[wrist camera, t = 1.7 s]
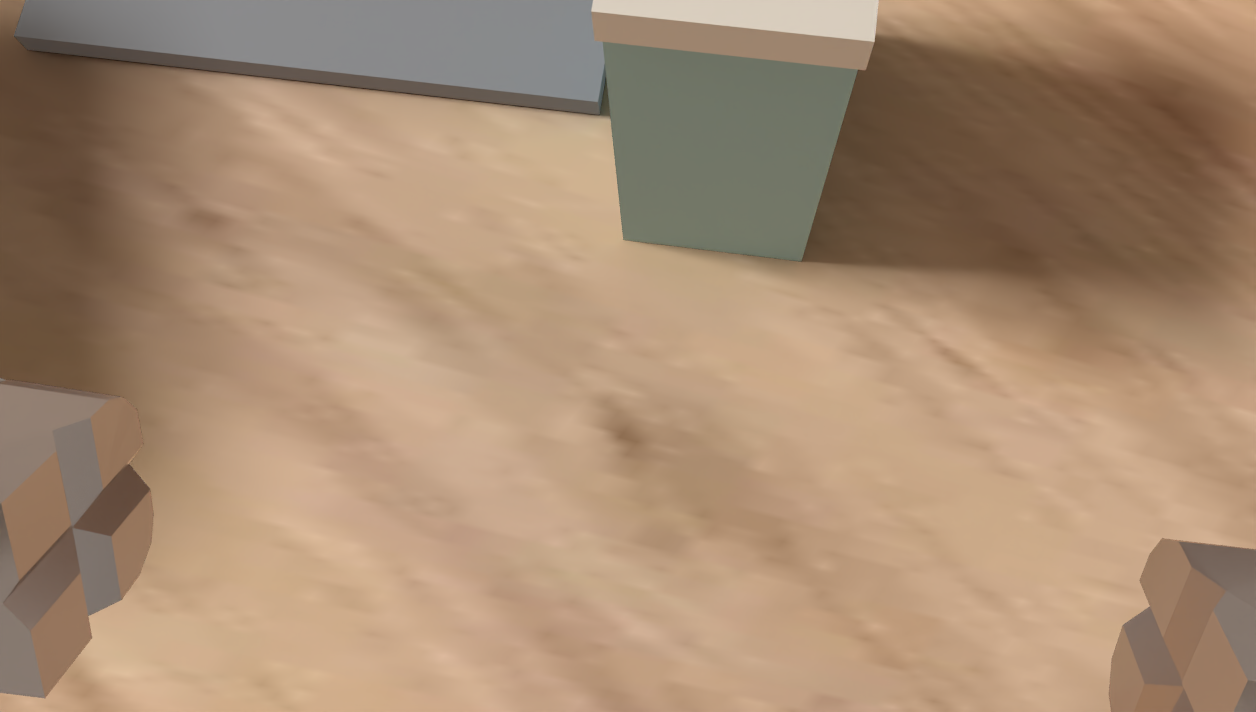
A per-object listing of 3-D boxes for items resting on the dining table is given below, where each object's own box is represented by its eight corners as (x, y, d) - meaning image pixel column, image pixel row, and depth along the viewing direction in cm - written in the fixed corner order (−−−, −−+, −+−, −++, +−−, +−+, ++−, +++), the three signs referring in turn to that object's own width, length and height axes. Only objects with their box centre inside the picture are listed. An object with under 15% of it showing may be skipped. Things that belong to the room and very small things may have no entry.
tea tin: (832, 23, 27) (907, -295, 19) (805, 265, 26) (874, 42, 17) (656, 4, 28) (649, -317, 19) (618, 243, 26) (591, 11, 17)
